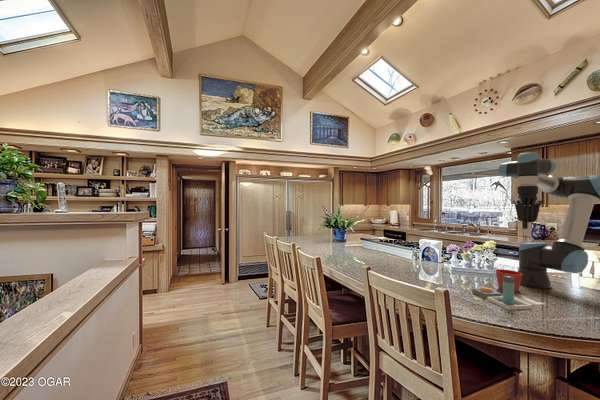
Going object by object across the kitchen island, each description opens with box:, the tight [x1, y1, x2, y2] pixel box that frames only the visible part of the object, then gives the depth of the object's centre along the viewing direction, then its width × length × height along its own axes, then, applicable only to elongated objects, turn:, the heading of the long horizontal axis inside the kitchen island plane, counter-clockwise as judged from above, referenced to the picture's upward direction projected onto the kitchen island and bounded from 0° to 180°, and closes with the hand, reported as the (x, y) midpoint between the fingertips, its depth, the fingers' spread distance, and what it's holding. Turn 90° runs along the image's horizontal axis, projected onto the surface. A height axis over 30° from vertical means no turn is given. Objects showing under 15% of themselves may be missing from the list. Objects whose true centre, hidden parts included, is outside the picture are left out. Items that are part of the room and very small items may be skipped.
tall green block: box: [502, 276, 515, 305], centre depth 117 cm, size 4×4×12 cm
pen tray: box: [486, 295, 533, 311], centre depth 117 cm, size 11×11×2 cm
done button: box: [480, 286, 493, 293], centre depth 128 cm, size 4×4×4 cm
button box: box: [471, 287, 502, 300], centre depth 128 cm, size 8×8×3 cm
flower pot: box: [495, 268, 522, 293], centre depth 138 cm, size 11×11×10 cm
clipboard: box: [501, 293, 546, 306], centre depth 124 cm, size 12×14×1 cm
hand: (527, 235), depth 127 cm, fingers closed
